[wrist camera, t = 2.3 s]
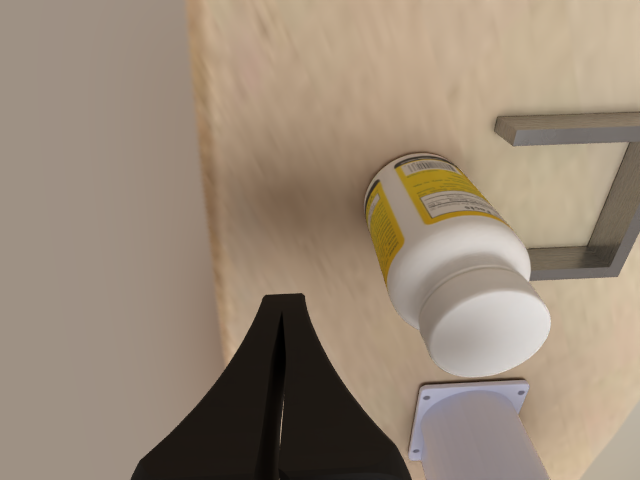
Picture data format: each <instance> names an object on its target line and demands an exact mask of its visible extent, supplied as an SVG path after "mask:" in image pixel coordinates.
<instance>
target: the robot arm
mask: <svg viewBox="0 0 640 480" xmlns="http://www.w3.org/2000/svg"><path fill="white" fill-rule="evenodd" d="M529 387H530V386H529V384H528V382H527V381H525V380H511V381H492V382H473V383H454V384H434V385H424V386H422V387H421V388H420V390H419V396H418V401H417V407H416V412H415V418H414V424H413V429H412V435H411V440H410V446H409V452H408V456H409V459H410V460H412V461H417V460H421V462H422V466H423V469H424V473H425V477H426V480H551V479H550V477H549V476H548V474H547V472H546V470H545V468H544V466H543V464H542V462H541V460H540V458H539V456H538V454H537V452H536V450H535V448H534V446H533V444H532V442H531V440H530V438H529V436H528V434H527V432H526V430H525V428H524V426H523V424H522V422H521V420H520V418H519V416H518V414H519V412H520V409H521V407H522V405H523V402H524V400H525V397H526V395H527V392H528V390H529ZM283 400H284V406H283ZM282 410H283V419H282ZM281 419H282V432H281V442H280V430H281ZM279 479H280V480H412V479H411V476H410V473H409V471H408V469H407V466H406V464H405V462H404V460H403V458H402V456H401V454H400V452H399V450H398V448H397V446H396V445H395V444H394V443H393V442H392V441H391V440H390V439H389V438H388V437H387V436H386V434H385V433H384V432H383V431H382V430H381V429H380V428H379V427H378V426H377V425H376V424H375V423H374V421H373V420H372V419H371V418H370V417H369V416H368V415H367V413H366V412H365V411H364V410H363V408H362V407H361V406H360V405H359V403H358V402H357V401H356V399H355V398H354V397H353V396H352V394H351V393H350V392H349V390H348V389H347V387H346V386H345V384H344V383H343V382H342V380H341V379H340V377H339V375H338V374H337V372H336V371H335V369H334V367H333V366H332V364H331V362H330V361H329V359H328V357H327V355H326V353H325V351H324V349H323V347H322V345H321V343H320V341H319V339H318V337H317V335H316V332H315V330H314V328H313V325H312V323H311V320H310V317H309V314H308V311H307V307H306V302H305V296H304V295H303V294H302V293H297V294H275V295H265V296H264V297H263V299H262V302H261V305H260V307H259V310H258V312H257V314H256V317H255V319H254V321H253V323H252V325H251V327H250V329H249V331H248V332H247V334H246V336H245V338H244V340H243V342H242V343H241V345H240V347H239V348H238V350H237V352H236V353H235V355H234V357H233V358H232V360H231V361H230V363H229V364H228V366H227V367H226V369H225V370H224V372H223V373H222V374H221V376H220V377H219V379H218V380H217V381H216V383H215V384H214V385H213V386H212V388H211V389H210V390H209V391H208V393H207V394H206V395H205V396H204V397H203V399H202V400H201V401H200V402H199V403H198V404H197V406H196V407H195V408H194V409H193V410H192V411H191V412H190V413H189V414H188V415H187V416H186V417H185V418H184V420H183V421H182V422H181V423H180V424H179V425H178V426H177V427H176V428H175V429H174V430H173V431H172V432H171V433H170V434H169V435H168V436H167V437H166V438H164V439H163V440H162V441H161V442H160V443H159V444H158V445H157V446H156V447H155V448H153V449H152V450H151V451H150V452H149V453H148V454H147V455H146V456H145V457H144V458H142V459H141V460H140V461H139V463H138V465H137V467H136V469H135V471H134V473H133V475H132V477H131V480H279Z"/></svg>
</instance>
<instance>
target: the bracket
mask: <svg viewBox="0 0 640 480" xmlns="http://www.w3.org/2000/svg"><path fill="white" fill-rule="evenodd" d="M494 132H496V133H497V134H498V135H499V136H501V137H502V138H503V139H505V140H506V141H507V142H508V143H510V144H511V145H512V146H528V145H556V144H584V143H612V142H630V144H629V147H628V149H627V152H626V154H625V157H624V159H623V161H622V164H621V166H620V169H619V171H618V174H617V176H616V179H615V181H614V183H613V186H612V188H611V191H610V193H609V196H608V198H607V200H606V203H605V205H604V208H603V210H602V213H601V215H600V218H599V220H598V222H597V225H596V227H595V230H594V232H593V235H592V237H591V239H590V242H589V244H588V246H587V247H564V248H540V249H526V250H527V252H528V255H529V259H530V265H531V274H530V280H529V281H537V280H559V279H581V278H603V277H618V275H619V273H620V271H621V269H622V267H623V265H624V263H625V261H626V259H627V257H628V255H629V253H630V251H631V248H632V246H633V244H634V242H635V240H636V238H637V236H638V234H639V232H640V112H629V113H599V114H570V115H540V116H511V117H497V122H496V126H495V131H494Z"/></svg>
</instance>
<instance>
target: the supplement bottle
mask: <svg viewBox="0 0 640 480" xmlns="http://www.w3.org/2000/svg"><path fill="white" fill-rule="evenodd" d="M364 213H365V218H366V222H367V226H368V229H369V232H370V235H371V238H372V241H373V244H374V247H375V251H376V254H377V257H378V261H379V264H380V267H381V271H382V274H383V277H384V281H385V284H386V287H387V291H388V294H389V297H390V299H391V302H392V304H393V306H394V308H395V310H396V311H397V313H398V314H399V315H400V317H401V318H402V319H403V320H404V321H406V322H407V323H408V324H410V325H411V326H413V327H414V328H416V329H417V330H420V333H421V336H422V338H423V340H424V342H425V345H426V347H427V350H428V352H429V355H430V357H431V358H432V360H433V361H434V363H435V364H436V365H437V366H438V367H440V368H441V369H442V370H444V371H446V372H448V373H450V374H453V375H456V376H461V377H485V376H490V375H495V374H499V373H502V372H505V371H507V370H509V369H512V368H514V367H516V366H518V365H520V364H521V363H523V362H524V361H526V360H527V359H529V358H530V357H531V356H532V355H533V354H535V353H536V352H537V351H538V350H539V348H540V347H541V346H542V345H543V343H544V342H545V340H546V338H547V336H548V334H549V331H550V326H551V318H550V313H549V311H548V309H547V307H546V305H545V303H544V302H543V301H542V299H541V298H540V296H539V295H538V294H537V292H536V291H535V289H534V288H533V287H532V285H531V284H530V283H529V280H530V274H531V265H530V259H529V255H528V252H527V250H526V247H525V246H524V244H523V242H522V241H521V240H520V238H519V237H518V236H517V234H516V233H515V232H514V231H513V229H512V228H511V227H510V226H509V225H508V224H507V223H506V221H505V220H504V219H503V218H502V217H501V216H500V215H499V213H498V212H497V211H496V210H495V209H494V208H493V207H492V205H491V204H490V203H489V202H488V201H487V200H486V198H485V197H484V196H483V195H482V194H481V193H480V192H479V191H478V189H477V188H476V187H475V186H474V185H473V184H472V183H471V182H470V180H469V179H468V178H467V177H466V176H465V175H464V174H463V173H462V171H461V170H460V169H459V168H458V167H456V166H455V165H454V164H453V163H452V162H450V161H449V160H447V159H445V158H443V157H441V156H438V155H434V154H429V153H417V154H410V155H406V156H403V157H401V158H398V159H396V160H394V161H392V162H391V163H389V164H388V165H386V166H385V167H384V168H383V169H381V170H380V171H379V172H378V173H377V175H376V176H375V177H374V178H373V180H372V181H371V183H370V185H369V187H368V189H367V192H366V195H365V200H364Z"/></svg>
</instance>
